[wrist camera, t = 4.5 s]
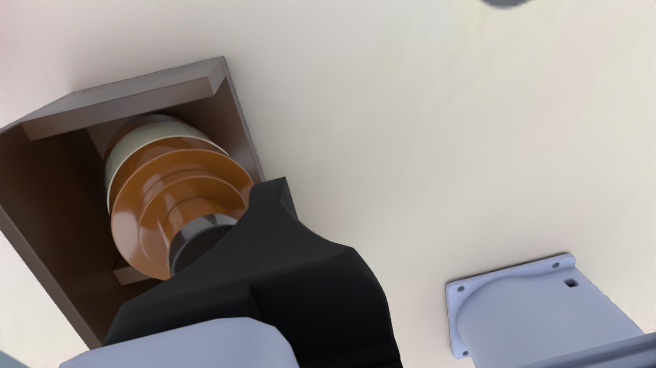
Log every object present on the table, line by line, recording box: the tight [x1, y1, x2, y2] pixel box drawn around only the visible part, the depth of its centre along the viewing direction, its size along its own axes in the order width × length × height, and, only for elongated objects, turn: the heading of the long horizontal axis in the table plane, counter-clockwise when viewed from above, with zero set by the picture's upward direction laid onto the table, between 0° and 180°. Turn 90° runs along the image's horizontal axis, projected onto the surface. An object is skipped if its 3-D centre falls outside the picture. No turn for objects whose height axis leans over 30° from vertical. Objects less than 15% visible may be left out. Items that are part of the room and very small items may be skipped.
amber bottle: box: [104, 114, 254, 280], centre depth 15 cm, size 5×5×10 cm
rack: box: [0, 56, 265, 350], centre depth 20 cm, size 8×16×8 cm, turn 12°
